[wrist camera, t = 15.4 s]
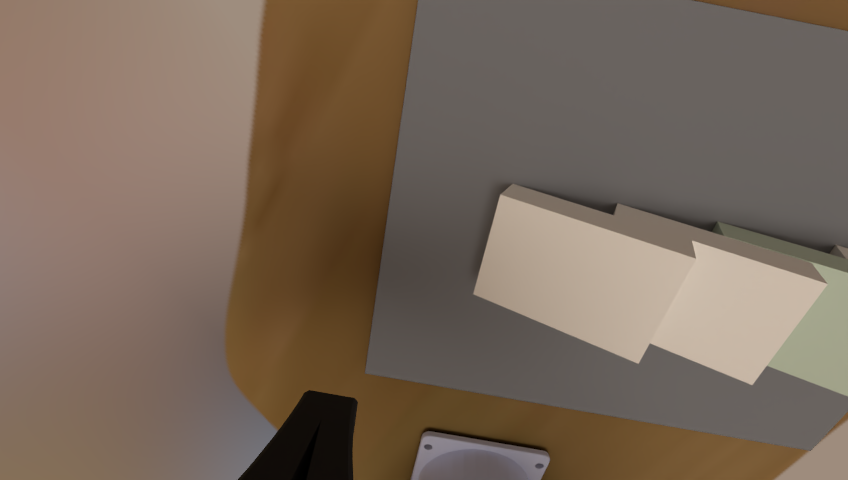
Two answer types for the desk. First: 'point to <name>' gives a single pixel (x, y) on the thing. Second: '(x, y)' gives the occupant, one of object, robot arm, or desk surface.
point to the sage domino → (811, 316)
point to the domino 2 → (732, 300)
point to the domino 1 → (582, 270)
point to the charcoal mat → (606, 188)
